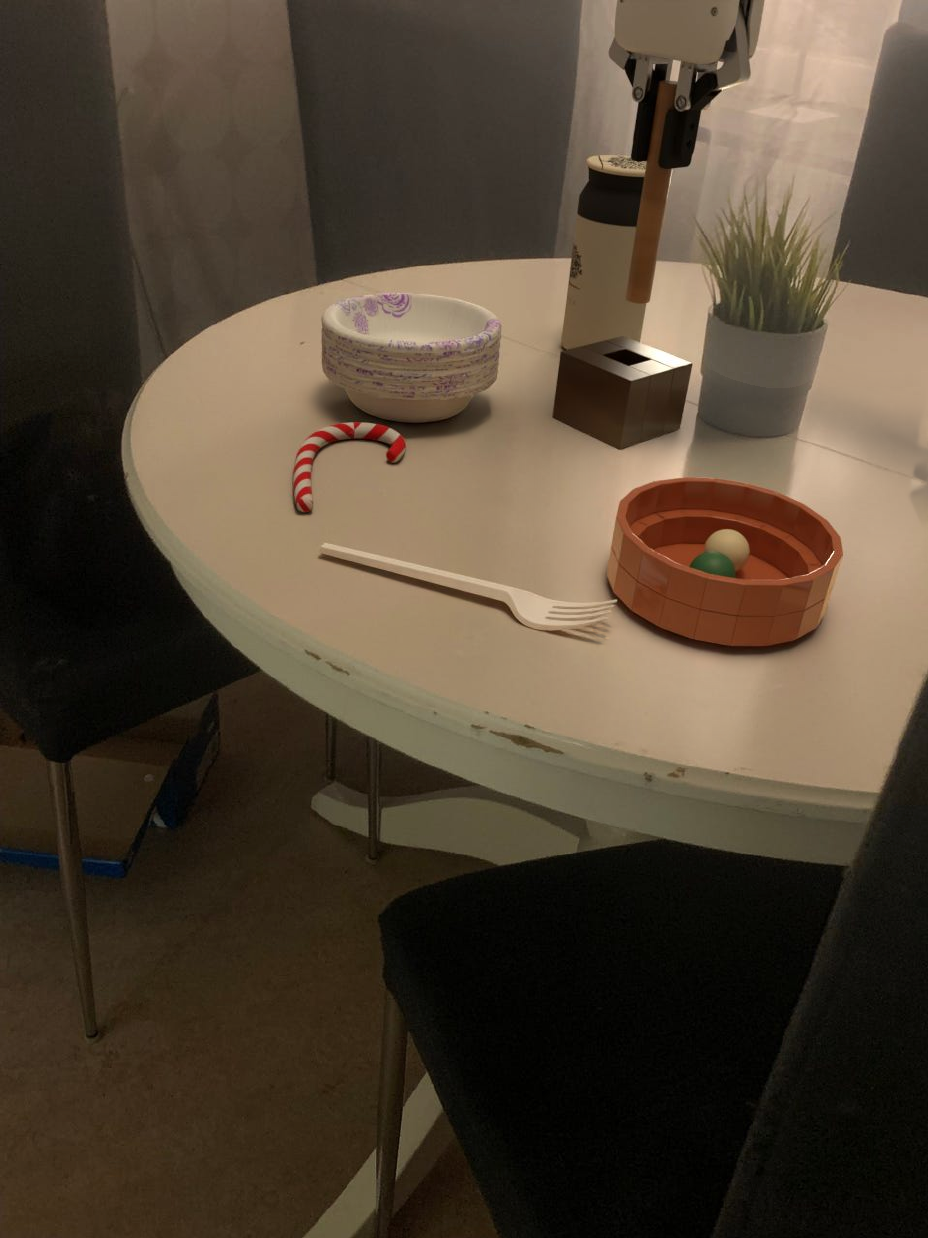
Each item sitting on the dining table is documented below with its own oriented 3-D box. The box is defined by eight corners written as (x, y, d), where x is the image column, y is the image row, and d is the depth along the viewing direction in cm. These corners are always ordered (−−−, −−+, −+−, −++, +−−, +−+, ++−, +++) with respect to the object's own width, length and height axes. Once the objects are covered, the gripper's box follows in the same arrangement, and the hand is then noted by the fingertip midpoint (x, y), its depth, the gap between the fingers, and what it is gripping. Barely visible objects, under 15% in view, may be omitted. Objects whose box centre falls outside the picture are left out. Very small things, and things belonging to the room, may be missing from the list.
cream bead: (729, 545, 75) (731, 513, 72) (758, 570, 73) (760, 538, 70) (694, 564, 74) (694, 532, 72) (721, 589, 72) (722, 558, 70)
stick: (637, 295, 89) (673, 79, 80) (654, 302, 87) (692, 84, 79) (620, 297, 88) (653, 80, 79) (636, 304, 86) (673, 84, 78)
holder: (612, 398, 100) (622, 335, 96) (680, 428, 95) (693, 363, 91) (552, 417, 95) (560, 350, 92) (619, 449, 90) (631, 380, 87)
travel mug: (639, 341, 114) (669, 159, 104) (636, 367, 107) (668, 175, 97) (564, 332, 114) (587, 150, 105) (556, 356, 108) (580, 165, 98)
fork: (331, 544, 73) (331, 519, 72) (615, 621, 68) (619, 595, 67) (308, 565, 71) (308, 540, 70) (601, 647, 65) (605, 621, 64)
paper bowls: (383, 360, 104) (386, 276, 99) (524, 399, 98) (533, 312, 93) (285, 408, 92) (283, 316, 88) (437, 455, 86) (443, 359, 82)
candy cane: (257, 491, 76) (323, 412, 89) (258, 507, 77) (323, 427, 89) (363, 508, 75) (415, 427, 88) (363, 525, 76) (414, 441, 88)
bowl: (695, 521, 80) (708, 460, 77) (864, 606, 72) (885, 541, 69) (562, 578, 72) (571, 511, 69) (735, 682, 63) (753, 610, 61)
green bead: (687, 542, 70) (729, 542, 68) (705, 566, 72) (747, 566, 70) (675, 582, 69) (718, 583, 67) (694, 605, 71) (736, 606, 69)
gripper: (842, -122, 69) (775, 181, 79) (652, -131, 79) (615, 140, 89) (774, -132, 65) (713, 190, 75) (582, -140, 74) (551, 146, 85)
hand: (660, 161), depth 82 cm, fingers closed on stick, 2 cm apart
